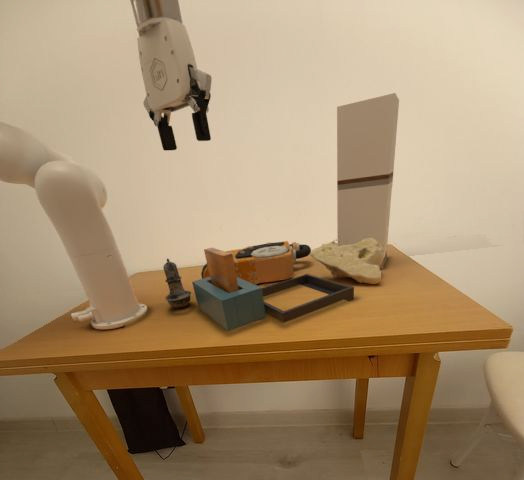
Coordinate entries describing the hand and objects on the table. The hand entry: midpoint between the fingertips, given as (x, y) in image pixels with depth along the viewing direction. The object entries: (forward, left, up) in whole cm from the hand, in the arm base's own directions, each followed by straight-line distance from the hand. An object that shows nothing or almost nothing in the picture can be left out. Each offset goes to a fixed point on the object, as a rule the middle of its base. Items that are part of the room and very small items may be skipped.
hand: (186, 145), depth 57 cm
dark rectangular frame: (+11, -17, -31) cm, 37 cm away
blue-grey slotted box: (-3, -12, -31) cm, 34 cm away
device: (+16, +7, -32) cm, 36 cm away
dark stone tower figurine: (-10, 0, -32) cm, 33 cm away
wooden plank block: (-3, -12, -31) cm, 33 cm away
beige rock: (+27, -15, -32) cm, 44 cm away
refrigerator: (+40, -8, -32) cm, 52 cm away
